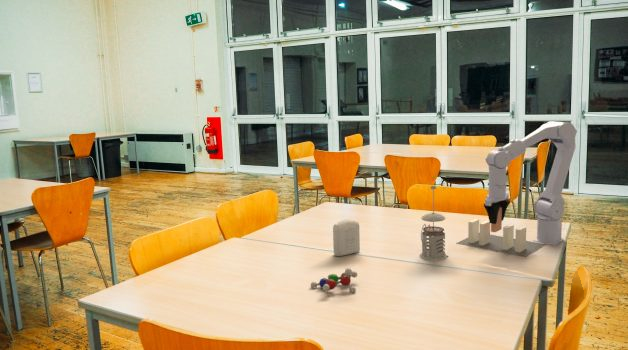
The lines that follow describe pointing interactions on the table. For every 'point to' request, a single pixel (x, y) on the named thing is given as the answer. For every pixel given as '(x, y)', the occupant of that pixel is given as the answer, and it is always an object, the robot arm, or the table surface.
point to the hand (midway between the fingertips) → (496, 221)
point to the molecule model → (334, 279)
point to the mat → (497, 246)
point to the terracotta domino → (498, 225)
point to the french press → (436, 241)
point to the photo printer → (346, 237)
